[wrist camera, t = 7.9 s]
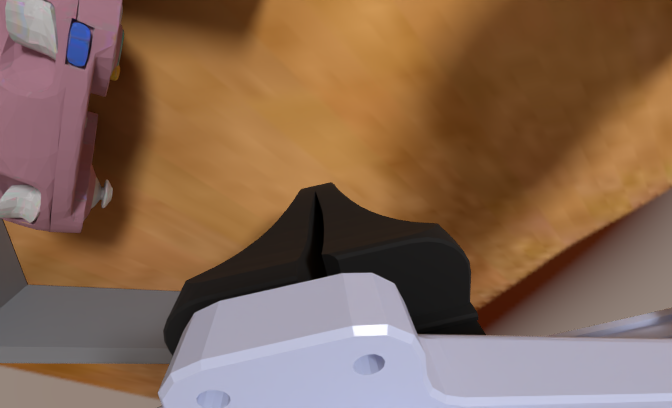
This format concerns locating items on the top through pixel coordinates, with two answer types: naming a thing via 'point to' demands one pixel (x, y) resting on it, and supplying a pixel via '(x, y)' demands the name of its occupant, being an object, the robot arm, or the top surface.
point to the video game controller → (53, 107)
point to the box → (78, 320)
